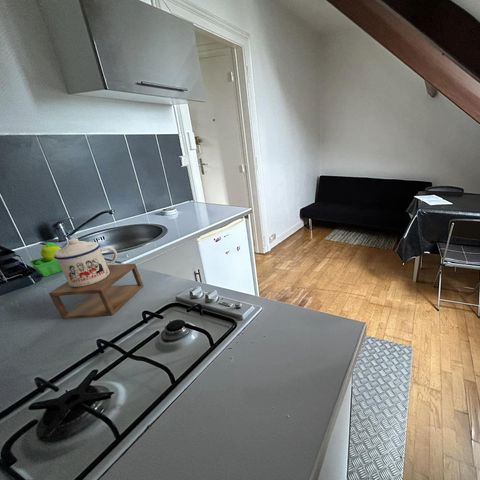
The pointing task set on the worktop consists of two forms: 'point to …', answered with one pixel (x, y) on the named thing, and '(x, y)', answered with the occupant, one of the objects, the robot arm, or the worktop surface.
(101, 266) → the teacup with lid
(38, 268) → the fruit basket
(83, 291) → the rack
